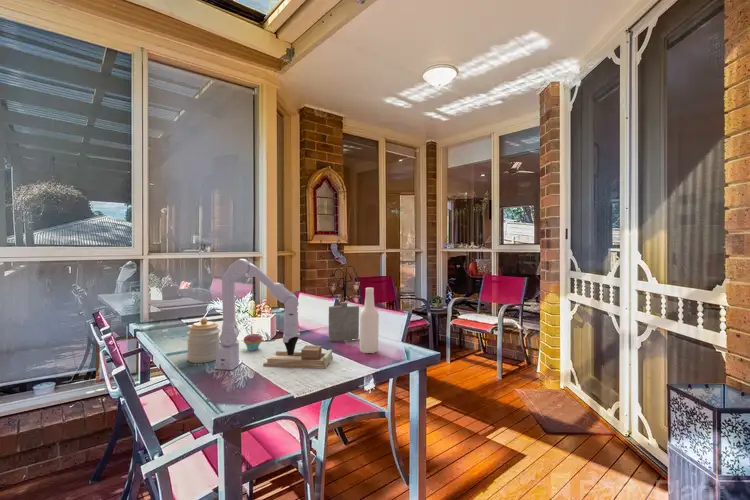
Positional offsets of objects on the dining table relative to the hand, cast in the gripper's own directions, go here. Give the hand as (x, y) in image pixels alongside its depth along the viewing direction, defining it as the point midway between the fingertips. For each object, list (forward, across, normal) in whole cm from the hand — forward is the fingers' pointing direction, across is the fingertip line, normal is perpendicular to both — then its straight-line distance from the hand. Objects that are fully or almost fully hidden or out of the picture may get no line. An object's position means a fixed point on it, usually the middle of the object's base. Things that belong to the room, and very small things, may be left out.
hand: (290, 354), depth 158 cm
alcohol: (+3, +19, -32) cm, 37 cm away
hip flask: (+3, +37, -17) cm, 41 cm away
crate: (+2, 0, -9) cm, 9 cm away
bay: (+3, 0, -4) cm, 5 cm away
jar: (+3, -1, +38) cm, 38 cm away
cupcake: (+3, +15, +23) cm, 28 cm away
